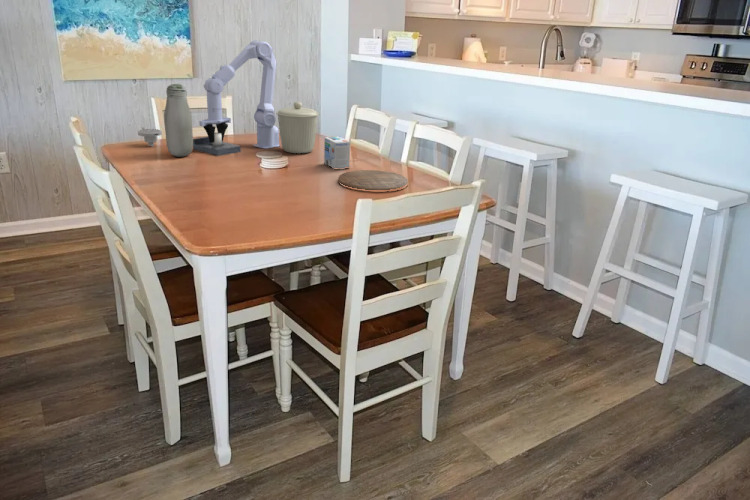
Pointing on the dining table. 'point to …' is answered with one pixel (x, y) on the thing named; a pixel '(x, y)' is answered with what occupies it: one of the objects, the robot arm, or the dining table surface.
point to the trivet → (372, 180)
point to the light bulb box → (337, 152)
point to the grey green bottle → (178, 121)
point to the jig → (214, 147)
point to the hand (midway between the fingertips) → (216, 141)
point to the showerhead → (150, 135)
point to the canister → (297, 128)
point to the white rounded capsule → (217, 139)
